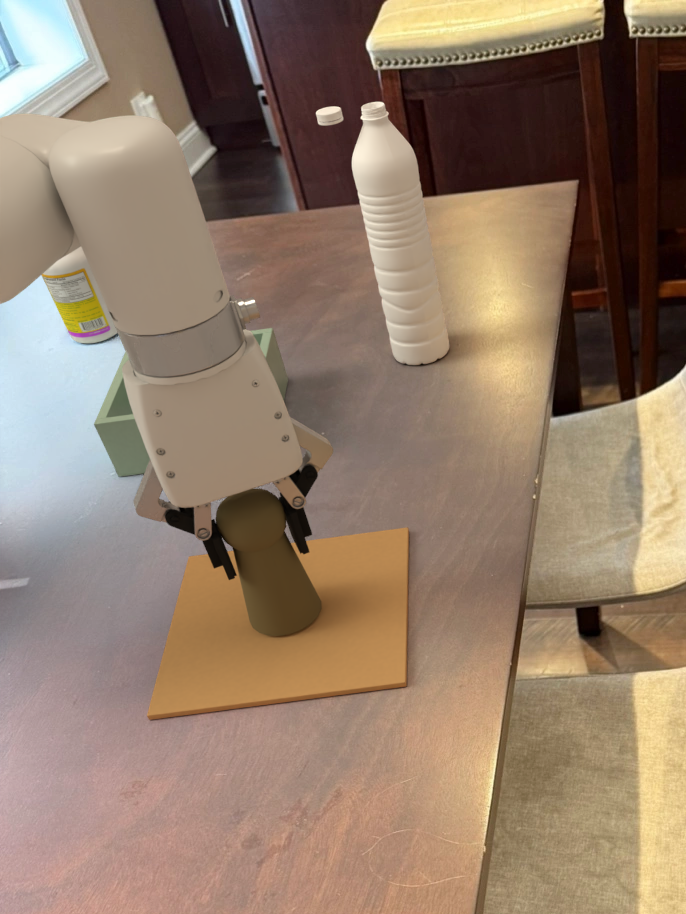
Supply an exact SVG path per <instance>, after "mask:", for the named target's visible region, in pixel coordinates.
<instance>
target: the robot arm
mask: <svg viewBox="0 0 686 914" xmlns="http://www.w3.org/2000/svg"><path fill="white" fill-rule="evenodd" d="M205 217H206V216H205V215H204V211H203V208H202V205H201V202H200V199H199V195H198V193H197V190H196V187H195V183H194V181H193V178H192V175H191V172H190V169H189V165H188V163H187V159H186V156H185V155H184V151H183V149H182V146H181V144H180V141H179V140H178V138H177V136H176V134H175V133H174V132H173V130H172V129H171V128H170V127H169V126H168V125H167V124H166V123H164V122H163V121H161V120H159V119H157V118H155V117H151V116H144V115H134V114H133V115H118V116H112V117H106V118H100V119H96V120H93V121H83V120H77V119H69V118H63V117H57V116H52V115H46V114H41V113H40V114H38V113H14V114H9V115H5V116H2V117H0V305H2V304H4V303H7V302H10V301H11V300H13V299H14V298H16V297H17V296H18V295H20V294H21V293H22V292H23V291H25V290H26V289H27V288H29V286H31V284H33V283H35V281H36V280H37V279H39V278H40V277H42V274H43V273H44V272H45V271H46V270H48V269H49V268H50V267H51V266H52V265H53V264H54V263H56V262H57V261H58V260H60V259H61V258H63V257H65V256H66V255H68V254H69V253H71V252H73V251H74V250H76V249H77V248H79V247H82V249H83V252H84V254H85V256H86V259H87V261H88V263H89V266H90V268H91V270H92V273H93V275H94V277H95V280H96V282H97V285H98V287H99V289H100V292H101V294H102V296H103V299H104V301H105V303H106V306H107V308H108V311H109V313H110V315H111V318H112V320H113V322H114V325H115V328H116V330H117V332H118V333H117V335H118V337H119V339H120V342H121V344H122V347H123V349H124V352H126V354H127V356H128V358H129V360H128V361H127V362H126V363H125V364H124V365H123V367H122V372H123V378H124V383H125V388H126V392H127V395H128V399H129V403H130V406H131V409H132V412H133V415H134V418H135V421H136V424H137V426H138V429H139V432H140V434H141V437H142V440H143V442H144V445H145V448H146V450H147V453H148V455H149V458H150V460H149V463H148V465H147V468H146V470H145V473H143V474H142V475H143V476H142V478H141V481H140V483H139V486H138V488H137V491H136V493H135V496H134V498H133V502H132V503H133V507H134V509H135V514H136V515H138V516H139V517H142V518H144V519H149V520H153V521H156V522H160V523H165V524H167V525H168V526H170V527H172V528H175V529H177V530H180V531H182V532H186V533H187V534H188V533H189V534H191V535H194V536H195V538H196V539H197V540H198V541H201V542H202V544H203V547H204V548H205V551H206V554H208V556H209V558H210V560H211V563H212V565H213V567H214V568H217V567H220V566H223V567H224V570H225V572H226V575H227V577H228V579H229V580H231V579H234V578H235V576H237V574H236V572H235V569H234V567H233V564H232V562H231V559H230V557H229V554H228V552H227V551H228V550H227V547H226V545H225V543H224V542H225V541H224V540H223V538H222V537H221V535H220V532H219V530H218V528H217V526H216V519H215V518H213V519H212V503H213V502H217V501H219V500H222V499H226V498H227V497H229V496H232V495H235V494H238V493H241V492H244V491H247V490H250V489H257V488H259V487H263V486H264V485H268V484H271V483H272V484H273V485H274V486H275V487H276V489H277V490H278V491H279V496H280V497H279V496H278V499H279V500H280V502H281V504H282V505H283V507H284V510H285V513H286V525H287V526H288V530H289V533H290V536H291V538H292V540H293V543H294V542H295V544H296V546H297V548H298V550H299V552H300V554H301V553H303V554H306V553H309V549H308V546H307V543H306V541H307V540H306V538H308V537H310V536H313V532H312V529H311V526H310V523H309V520H308V516H307V513H306V510H305V508H304V507H305V506H306V504H307V499H306V497H307V496H308V494H309V492H310V491H311V489H312V487H313V486H314V484H315V482H316V481H317V479H318V477H319V472H320V471H321V470H323V468H324V467H325V465H326V464H327V462H328V461H329V460H330V458H331V457H332V455H333V454H334V447H333V445H332V444H331V442H330V441H329V439H327V438H326V437H325V436H323V435H321V434H320V433H318V432H317V431H316V430H313V429H311V428H310V427H308V426H307V425H304V424H303V423H301V422H299V421H298V420H296V419H295V418H293V417H291V416H290V414H289V411H288V408H287V406H286V403H285V399H284V400H283V398H282V395H281V393H280V390H279V388H278V385H277V383H276V381H275V378H274V376H273V374H272V372H271V370H270V368H269V365H268V363H267V361H266V358H265V356H264V354H263V352H262V350H261V348H260V346H259V344H258V342H257V341H256V339H255V337H254V335H253V334H252V332H251V331H252V330H249V329H247V327H246V325H248V324H250V323H251V321H253V320H256V319H260V318H261V314H260V310H259V308H258V305H257V301H256V299H255V298H254V296H251V297H248V298H244V299H243V298H242V297H239V298H236V296H235V295H234V294H230V292H229V289H228V285H227V282H226V279H225V276H224V273H223V270H222V266H221V263H220V261H219V258H218V254H217V251H216V248H215V245H214V241H213V238H212V235H211V233H210V229H209V226H208V223H207V220H206V218H205ZM301 448H303V449H304V450H306V451H305V453H304V454H302V453H303V452H302V449H301ZM162 492H164V494H165V496H166V497H167V499H168V501H165V499H162V498H160V497H161V495H162V494H163V493H162Z"/></svg>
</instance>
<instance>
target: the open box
mask: <svg viewBox="0 0 686 914" xmlns="http://www.w3.org/2000/svg"><path fill="white" fill-rule="evenodd" d="M250 331H251V332H252V334H253V335H254V337H255V339H256V341H257V342H258V344H259V346H260V348H261V350H262V352H263V354H264V356H265V358H266V361H267V363H268V365H269V368H270V370H271V372H272V374H273V376H274V378H275V381H276V383H277V385H278V388H279V390H280V393H281V395H282V398H283V400H284V401H285V398H286V394H287V393H286V392H287V387H288V382H289V376H288V373H287V370H286V366H285V364H284V360H283V356H282V353H281V349H280V347H279V344H278V340H277V337H276V335H275V330H274V328H273V327H269V328H261V329H253V330H250ZM128 360H129V358H128V356H127V354H126V351H124V354H123V356H122V358H121V361H120V363H119V365H118V367H117V370H116V373H115V374H114V377H113V379H112V382H111V383H110V386H109V388H108V390H107V393H106V395H105V398H104V400H103V402H102V404H101V407H100V408H99V411H98V414H97V416H96V418H95V420H94V423H93V426H94V428H95V430H96V432H97V434H98V437H99V438H100V441H101V442H102V446H103V447H104V449H105V451H106V453H107V456H108V457H109V459H110V462H111V464H112V466H113V468H114V470H115V472H116V474H117V477H118V478H119V477H128V476H136V475H144V473H145V470H146V468H147V465H148V463H149V460H150V458H149V455H148V453H147V450H146V448H145V445H144V442H143V440H142V437H141V434H140V432H139V429H138V426H137V424H136V421H135V418H134V415H133V412H132V409H131V406H130V403H129V399H128V395H127V392H126V388H125V383H124V378H123V372H122V367H123V365H124V364H125V363H126V362H127V361H128Z"/></svg>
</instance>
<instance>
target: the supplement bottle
mask: <svg viewBox="0 0 686 914" xmlns="http://www.w3.org/2000/svg"><path fill="white" fill-rule="evenodd" d="M41 277H42V279H43V281H44V284H45V286H46V288H47V291H48V292H49V294H50V296H51V298H52V301H53V303H54V305H55V307H56V309H57V311H58V313H59V315H60V318H61V319H62V322H63V324H64V326H65V328H66V331H67V332H68V334H69V337H70V338H71V339H72V340H73V341H75V342H77V343H79V344H96V343H100V342H103V341H106V340H108V339H111V338H112V337H114V336H115V335H118V332H117V330H116V328H115V325H114V322H113V320H112V318H111V315H110V313H109V311H108V308H107V306H106V303H105V301H104V299H103V296H102V294H101V292H100V289H99V287H98V285H97V282H96V280H95V277H94V275H93V273H92V270H91V268H90V266H89V263H88V261H87V259H86V256H85V254H84V252H83V249H82V247H79V248H77V249H76V250H74V251H73V252H71V253H69V254H68V255H66V256H65V257H63V258H61V259H60V260H58V261H57V262H56V263H54V264H53V265H52V266H51V267H50V268H49V269H48V270H46V271H45V272H44V273H43V274H42V275H41Z"/></svg>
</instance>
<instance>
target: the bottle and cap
mask: <svg viewBox="0 0 686 914" xmlns="http://www.w3.org/2000/svg"><path fill="white" fill-rule="evenodd" d="M360 109H361V110H360V111H361V116H360V120H362V126H361V129H360V132H359V135H358V137H357V140H356V142H355V143H356V144H355V145H354V149H353V152H352V155H351V156H352V157H351V170H352V176H353V180H354V183H355V188H356V190H357V197H358V200H359V205H360V209H361V214H362V216H363V217H362V219H363V224H364V228H365V232H366V237H367V240H368V246H369V253H370V258H371V261H372V263H373V265H374V266H373V270H374V276H375V279H376V282H377V284H378V285H377V287H378V294H379V296H380V297H381V307H382V312H383V315H384V317H385V325H386V329H387V333H388V335H389V343H390V348H391V352H392V356H393V358H394V359H395V360H396V361H397V362H398V363H400V364H403V365H404V364H406V365H408V366H420V365H421V364H423V365H427V364H432V363H433V362H434V363H435V362H436V361H437V360H439V359H440V360H441V359H442V358H443V357H445V356H446V355H447V353H448V352H449V350H450V340H449V334H448V329H447V326H446V319H445V313H444V312H445V311H444V308H443V299H442V296H441V292H440V290H439V288H440V285H439V279H438V276H437V267H436V262H435V261H436V260H435V257H434V255H433V252H434V250H433V244H432V239H431V234H430V231H429V224H428V218H427V215H426V214H427V213H426V207H425V200H424V198H423V196H424V195H423V191H422V184H421V181H420V173H419V164H418V159H417V156H416V153H415V150H414V148H413V147H412V145H411V144H410V143H409V141H408V140H407V139H406V137H404V135H403V134H402V133H401V132H400V131H399V130H398V129H397V127H396V126H395V125H394V124H393V123H392V121H390V119H389V117H388V116H389V113H390V112H388V110H387V109H386V104H385V103H384V102H383V101H371V102H368V103H365V104H363V105H362V106H361V107H360ZM315 116H316V119H317V120H316V121H317V124H318V125H319V126H334V125H337V124H339V123H342V122H343V121H344V115H343V111H342V107H339V106H335V105H334V106H326V107H322V108H320V109H318V110H316V112H315Z"/></svg>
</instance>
